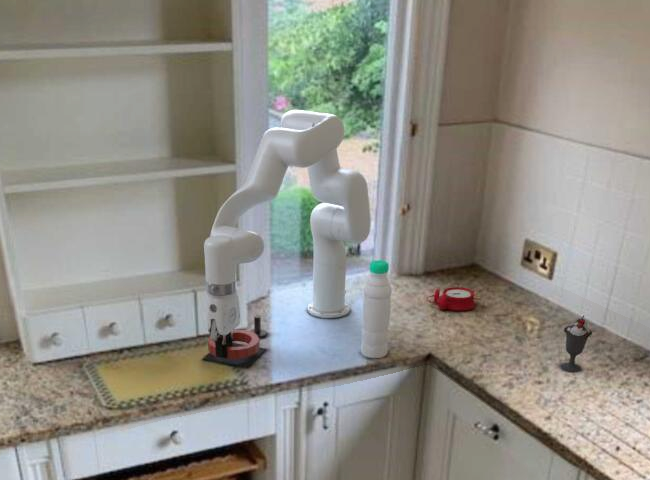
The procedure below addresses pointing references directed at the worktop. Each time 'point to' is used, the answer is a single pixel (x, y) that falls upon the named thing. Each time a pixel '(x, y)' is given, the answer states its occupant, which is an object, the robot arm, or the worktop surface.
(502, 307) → the worktop surface
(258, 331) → the peg stand
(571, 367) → the sundae
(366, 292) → the water bottle
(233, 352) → the ring
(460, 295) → the alarm clock
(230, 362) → the mat
